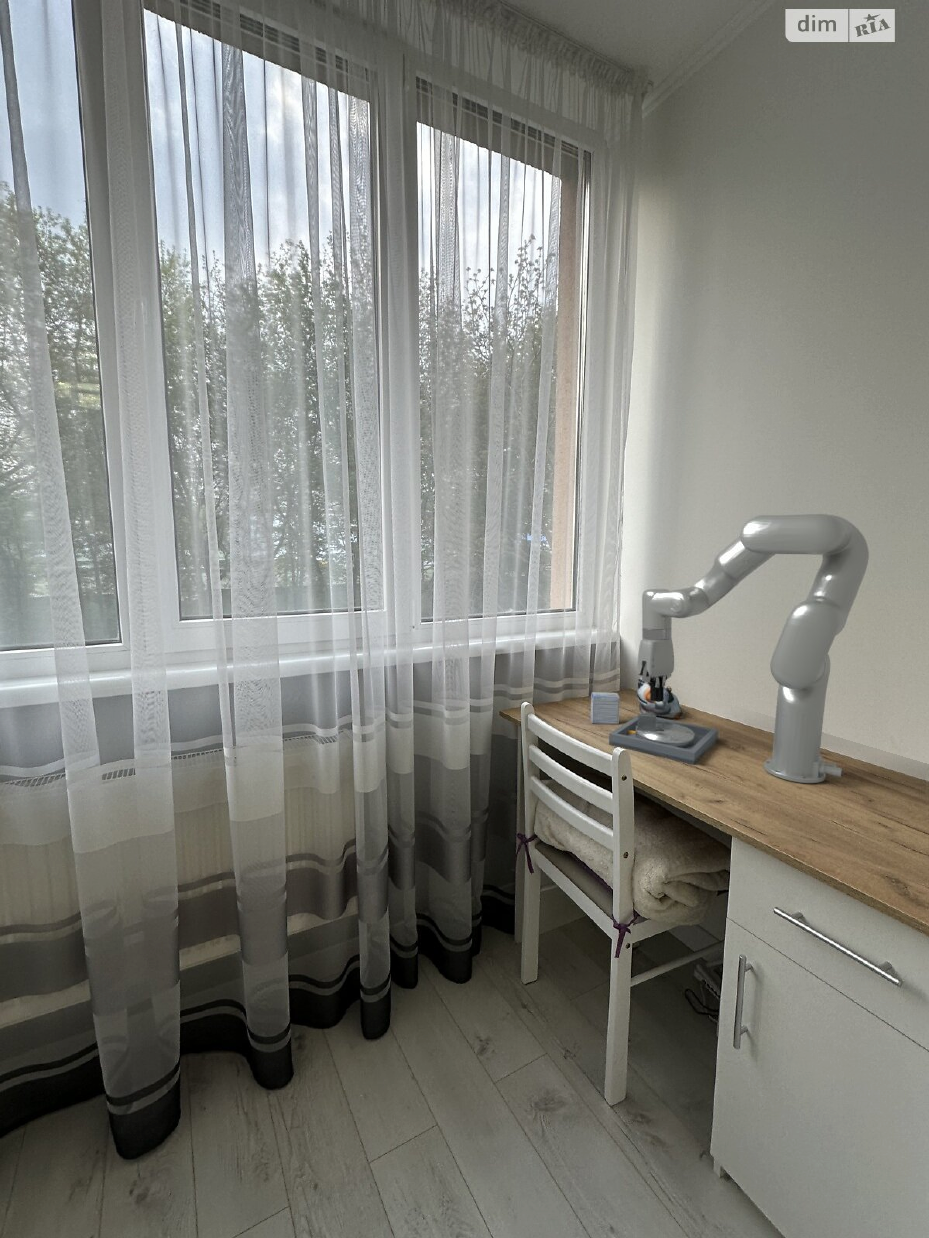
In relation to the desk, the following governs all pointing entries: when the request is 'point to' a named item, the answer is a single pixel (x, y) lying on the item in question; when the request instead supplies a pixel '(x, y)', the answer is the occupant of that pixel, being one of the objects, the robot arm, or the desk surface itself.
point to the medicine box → (605, 708)
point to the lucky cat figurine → (658, 708)
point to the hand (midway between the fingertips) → (656, 700)
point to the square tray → (688, 754)
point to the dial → (663, 732)
